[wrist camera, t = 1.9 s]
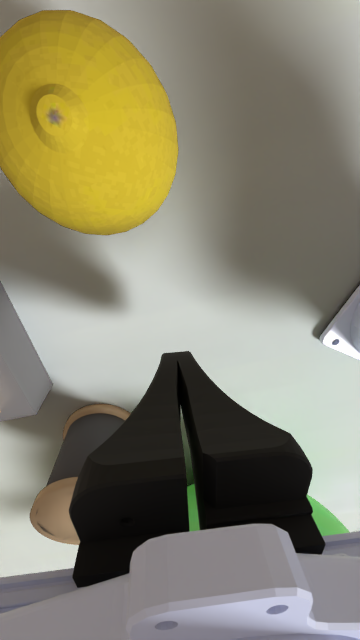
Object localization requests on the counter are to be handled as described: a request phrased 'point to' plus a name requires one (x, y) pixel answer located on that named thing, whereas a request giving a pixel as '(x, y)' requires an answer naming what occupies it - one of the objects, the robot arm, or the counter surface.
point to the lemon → (84, 123)
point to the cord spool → (72, 468)
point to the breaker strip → (19, 367)
